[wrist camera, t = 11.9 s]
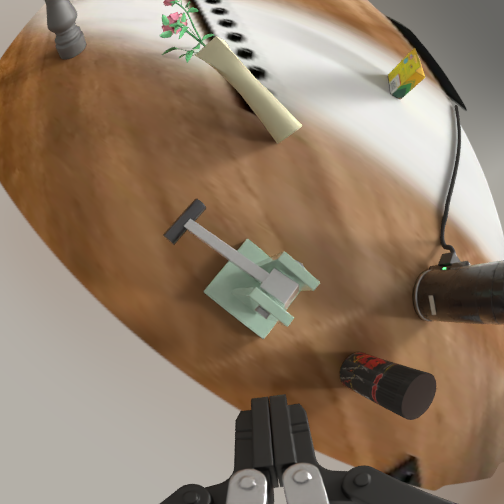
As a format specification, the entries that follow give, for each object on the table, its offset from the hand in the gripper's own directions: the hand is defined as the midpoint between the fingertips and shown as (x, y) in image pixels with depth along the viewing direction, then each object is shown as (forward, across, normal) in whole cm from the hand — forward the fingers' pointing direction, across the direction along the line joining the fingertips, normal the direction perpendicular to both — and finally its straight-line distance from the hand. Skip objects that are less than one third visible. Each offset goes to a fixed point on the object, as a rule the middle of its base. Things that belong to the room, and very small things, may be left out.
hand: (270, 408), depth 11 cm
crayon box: (+50, -37, -25) cm, 67 cm away
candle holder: (+40, +31, -43) cm, 66 cm away
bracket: (+26, +1, +6) cm, 27 cm away
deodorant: (+23, -13, +22) cm, 34 cm away
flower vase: (+40, +2, -26) cm, 48 cm away
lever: (+19, +2, -1) cm, 20 cm away
